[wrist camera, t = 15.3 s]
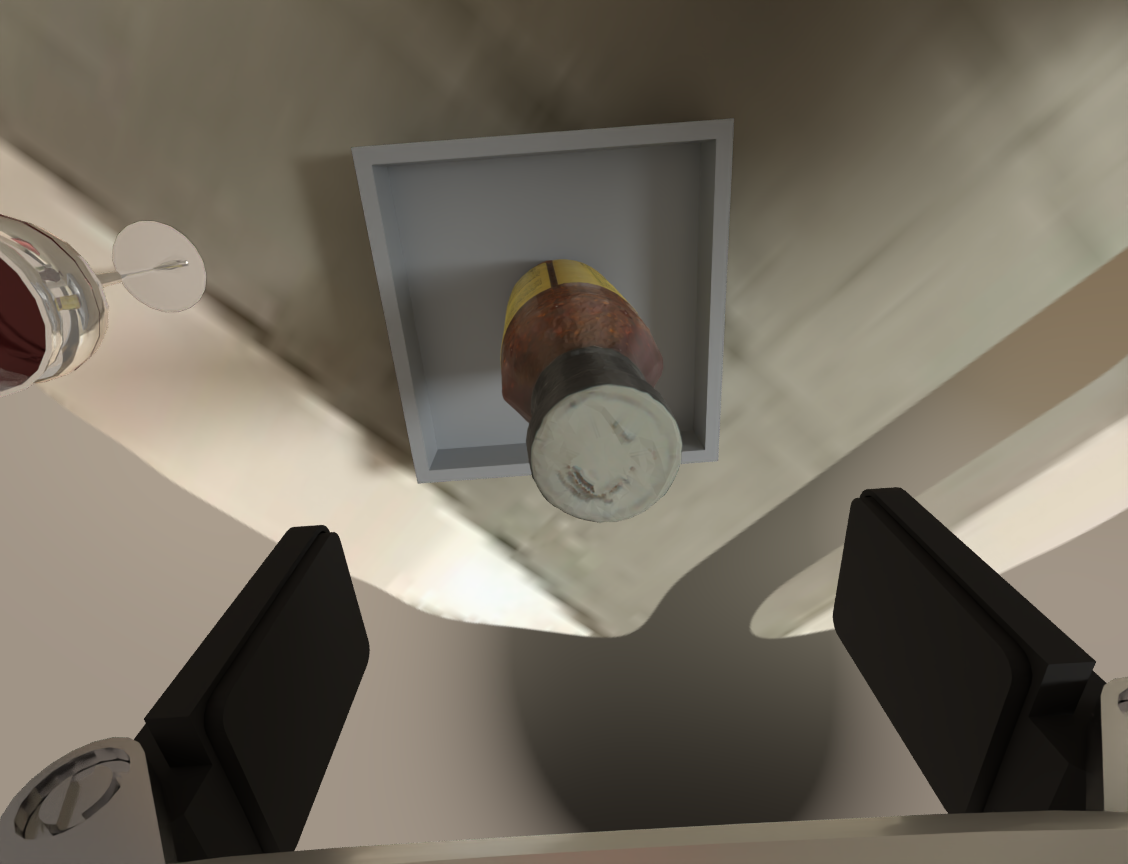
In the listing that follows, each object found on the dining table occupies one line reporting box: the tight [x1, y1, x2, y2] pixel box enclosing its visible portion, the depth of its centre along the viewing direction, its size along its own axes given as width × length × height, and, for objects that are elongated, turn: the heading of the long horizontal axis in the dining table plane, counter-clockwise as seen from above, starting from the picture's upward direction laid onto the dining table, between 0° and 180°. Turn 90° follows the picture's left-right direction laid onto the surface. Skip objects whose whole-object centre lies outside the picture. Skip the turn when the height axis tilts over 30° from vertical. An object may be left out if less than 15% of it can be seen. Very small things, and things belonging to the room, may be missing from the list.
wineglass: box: [0, 214, 206, 397], centre depth 26 cm, size 7×7×12 cm
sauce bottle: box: [500, 259, 683, 522], centre depth 23 cm, size 7×6×20 cm
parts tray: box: [351, 118, 734, 483], centre depth 32 cm, size 18×18×4 cm
